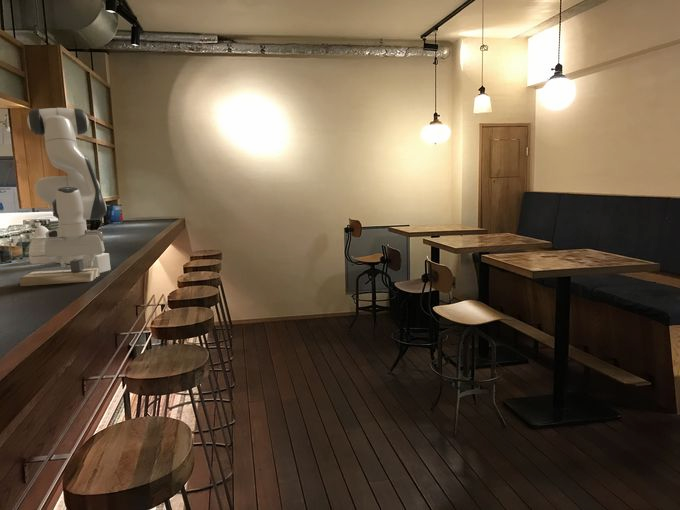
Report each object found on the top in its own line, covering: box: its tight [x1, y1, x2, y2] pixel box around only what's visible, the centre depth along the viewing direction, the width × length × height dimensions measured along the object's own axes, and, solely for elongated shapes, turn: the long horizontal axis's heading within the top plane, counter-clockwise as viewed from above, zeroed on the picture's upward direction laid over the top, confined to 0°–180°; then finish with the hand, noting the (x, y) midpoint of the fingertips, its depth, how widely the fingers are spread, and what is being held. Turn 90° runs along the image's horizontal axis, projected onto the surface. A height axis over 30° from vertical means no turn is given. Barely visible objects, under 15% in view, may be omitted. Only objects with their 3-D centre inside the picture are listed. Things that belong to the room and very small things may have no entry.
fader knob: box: [69, 259, 84, 272], centre depth 193 cm, size 5×3×4 cm, turn 10°
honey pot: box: [28, 222, 57, 265], centre depth 237 cm, size 13×13×18 cm
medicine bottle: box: [83, 252, 112, 274], centre depth 207 cm, size 7×7×12 cm
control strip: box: [19, 268, 101, 287], centre depth 192 cm, size 12×24×3 cm, turn 100°
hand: (77, 267), depth 193 cm, fingers open, 8 cm apart
